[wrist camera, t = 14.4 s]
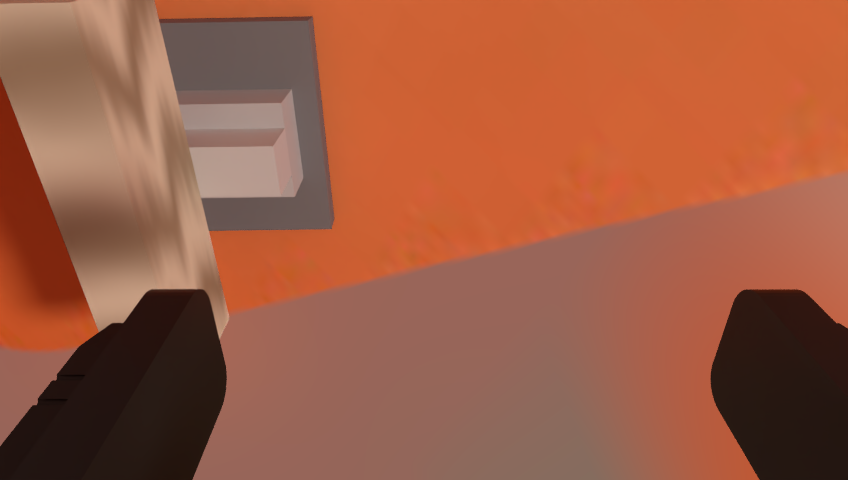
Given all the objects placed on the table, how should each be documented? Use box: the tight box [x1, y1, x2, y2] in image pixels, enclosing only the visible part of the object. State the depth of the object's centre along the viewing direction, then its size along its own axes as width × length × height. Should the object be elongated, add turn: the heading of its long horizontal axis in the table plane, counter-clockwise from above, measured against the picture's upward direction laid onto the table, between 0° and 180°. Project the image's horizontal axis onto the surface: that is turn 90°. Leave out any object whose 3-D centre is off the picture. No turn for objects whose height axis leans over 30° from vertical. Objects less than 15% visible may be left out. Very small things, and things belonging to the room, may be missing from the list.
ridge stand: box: [159, 17, 334, 231], centre depth 35 cm, size 14×16×8 cm
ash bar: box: [0, 0, 229, 339], centre depth 29 cm, size 20×4×7 cm, turn 1°
